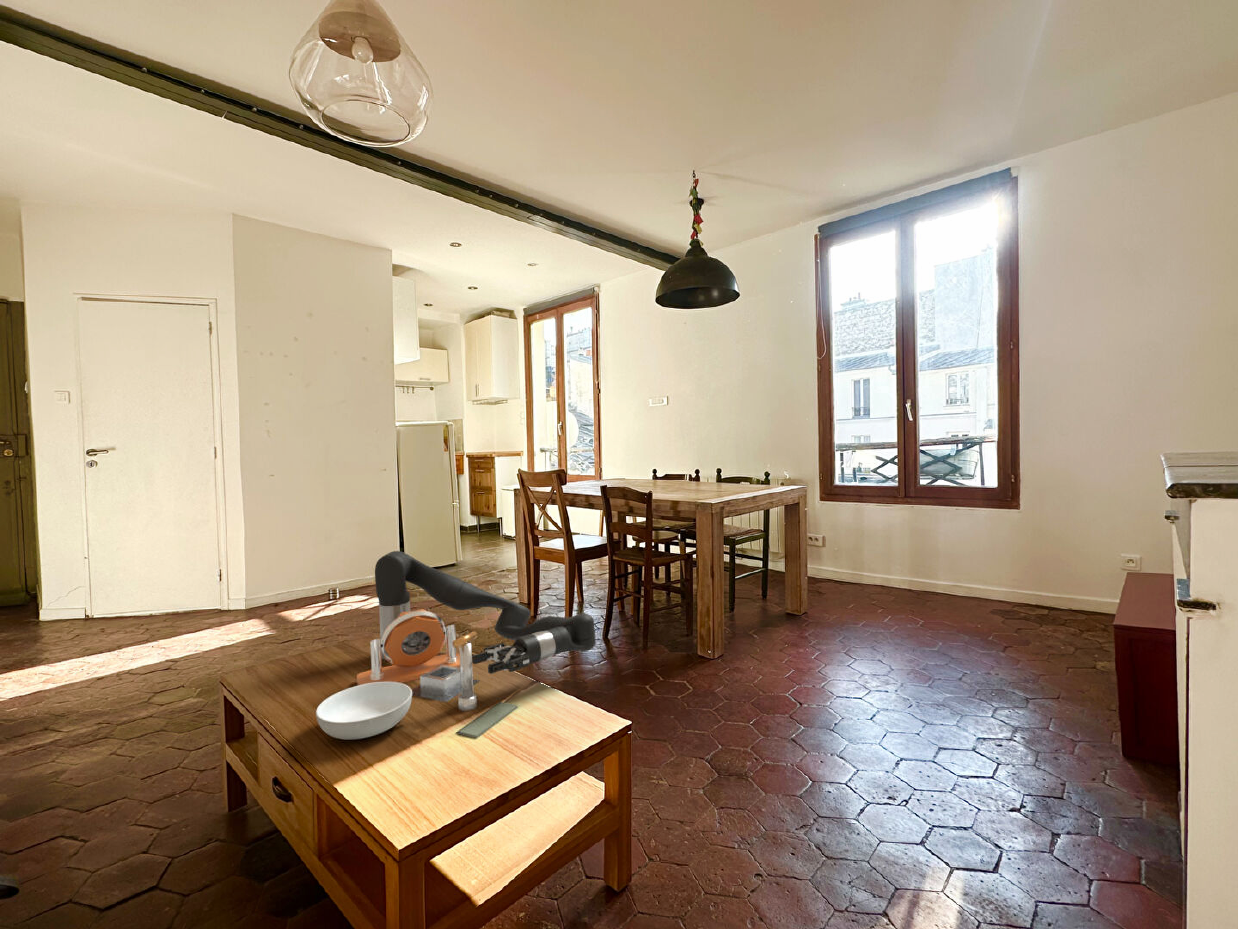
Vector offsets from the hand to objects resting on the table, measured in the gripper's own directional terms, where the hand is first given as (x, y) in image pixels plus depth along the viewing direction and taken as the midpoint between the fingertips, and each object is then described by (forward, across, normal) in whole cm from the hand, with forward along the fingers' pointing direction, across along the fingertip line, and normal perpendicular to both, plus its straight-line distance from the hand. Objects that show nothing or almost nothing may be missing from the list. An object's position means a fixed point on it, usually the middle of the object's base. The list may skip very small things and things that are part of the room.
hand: (480, 664), depth 143 cm
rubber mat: (+4, -3, -11) cm, 12 cm away
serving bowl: (+25, +10, -11) cm, 29 cm away
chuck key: (+4, +1, -10) cm, 11 cm away
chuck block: (+3, +16, -11) cm, 20 cm away
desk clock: (+5, +32, -11) cm, 35 cm away
